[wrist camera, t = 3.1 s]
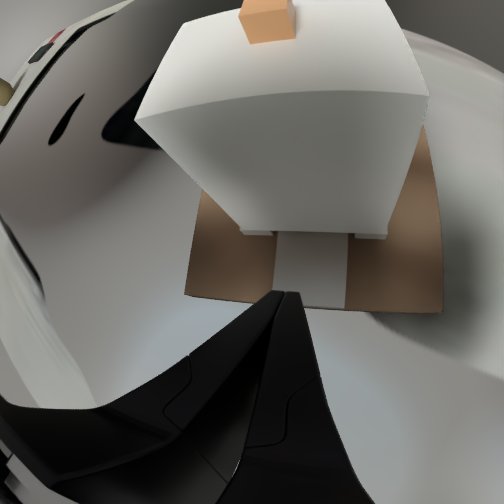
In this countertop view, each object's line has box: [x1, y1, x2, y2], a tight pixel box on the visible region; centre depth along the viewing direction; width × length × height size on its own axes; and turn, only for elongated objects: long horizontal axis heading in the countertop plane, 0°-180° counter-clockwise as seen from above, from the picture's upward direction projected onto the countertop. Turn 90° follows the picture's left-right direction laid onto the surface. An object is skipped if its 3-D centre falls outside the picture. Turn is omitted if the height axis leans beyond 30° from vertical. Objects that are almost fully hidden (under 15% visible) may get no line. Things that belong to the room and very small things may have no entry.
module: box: [135, 0, 430, 239], centre depth 10 cm, size 5×7×11 cm
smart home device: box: [28, 42, 54, 64], centre depth 61 cm, size 8×2×20 cm
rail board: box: [185, 125, 443, 313], centre depth 15 cm, size 18×14×4 cm
